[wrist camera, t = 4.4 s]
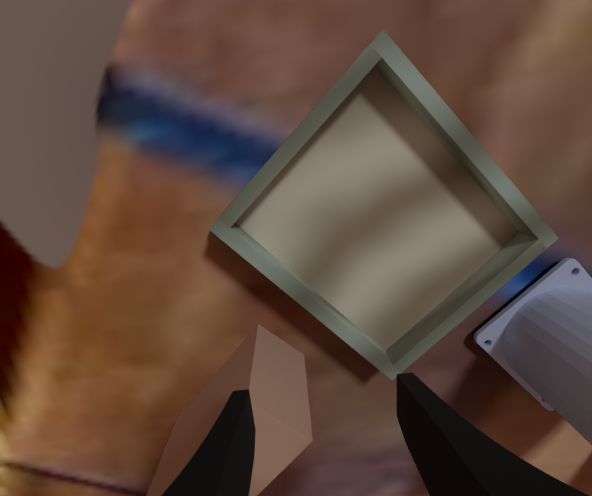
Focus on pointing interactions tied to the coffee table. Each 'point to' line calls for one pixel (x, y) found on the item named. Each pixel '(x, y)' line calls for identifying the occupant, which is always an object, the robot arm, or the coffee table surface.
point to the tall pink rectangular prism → (265, 405)
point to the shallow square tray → (384, 214)
